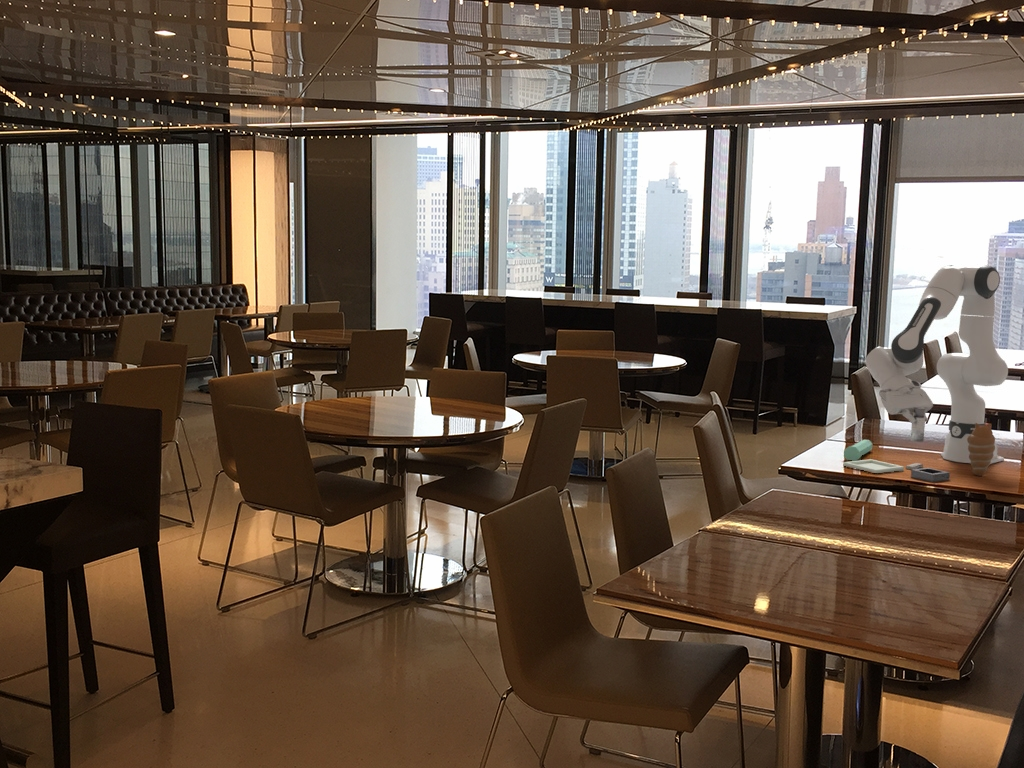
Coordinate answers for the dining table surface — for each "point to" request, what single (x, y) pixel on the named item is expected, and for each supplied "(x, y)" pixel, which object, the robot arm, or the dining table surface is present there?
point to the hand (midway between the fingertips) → (920, 421)
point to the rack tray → (873, 466)
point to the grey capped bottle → (918, 425)
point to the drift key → (914, 466)
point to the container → (857, 450)
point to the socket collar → (930, 474)
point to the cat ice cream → (981, 448)
